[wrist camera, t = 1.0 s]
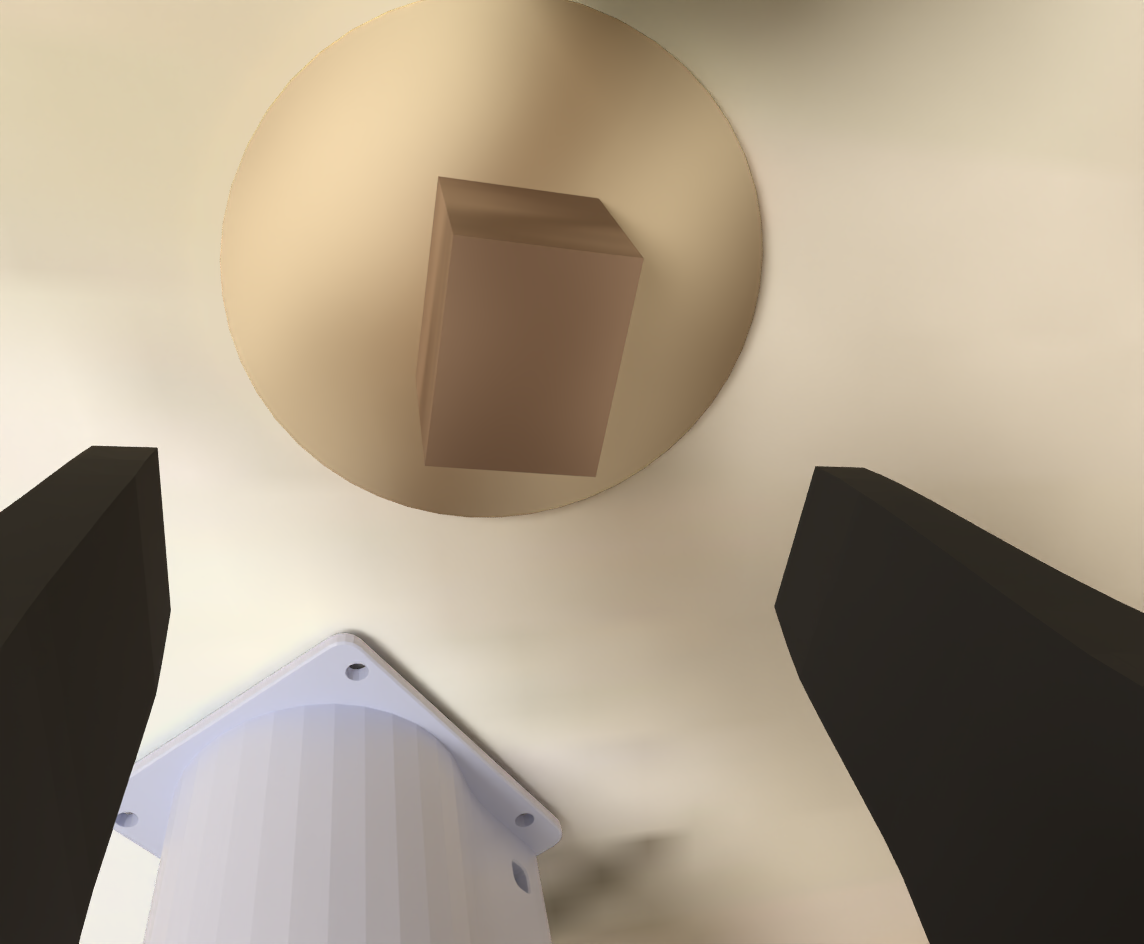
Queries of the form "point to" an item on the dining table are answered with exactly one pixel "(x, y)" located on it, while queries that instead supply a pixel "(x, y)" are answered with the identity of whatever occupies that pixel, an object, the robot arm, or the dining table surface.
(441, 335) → the oak lid
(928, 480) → the dining table surface
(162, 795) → the robot arm
